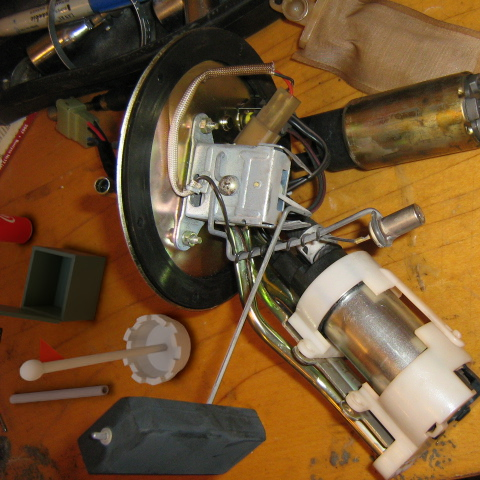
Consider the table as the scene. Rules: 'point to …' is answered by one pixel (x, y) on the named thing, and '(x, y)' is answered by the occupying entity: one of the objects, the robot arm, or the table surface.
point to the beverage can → (14, 229)
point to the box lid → (25, 314)
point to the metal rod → (60, 394)
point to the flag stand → (128, 352)
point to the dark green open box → (63, 283)
